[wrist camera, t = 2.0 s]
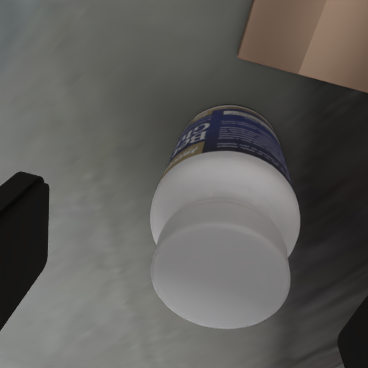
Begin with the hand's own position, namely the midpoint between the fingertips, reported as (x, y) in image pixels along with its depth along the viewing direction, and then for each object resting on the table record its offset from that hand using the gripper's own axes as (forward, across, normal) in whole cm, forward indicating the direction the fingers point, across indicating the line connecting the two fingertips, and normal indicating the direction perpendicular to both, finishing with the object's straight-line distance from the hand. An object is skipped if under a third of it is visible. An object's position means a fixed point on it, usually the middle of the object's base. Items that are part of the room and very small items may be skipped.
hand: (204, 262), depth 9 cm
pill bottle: (+10, -1, +1) cm, 10 cm away
